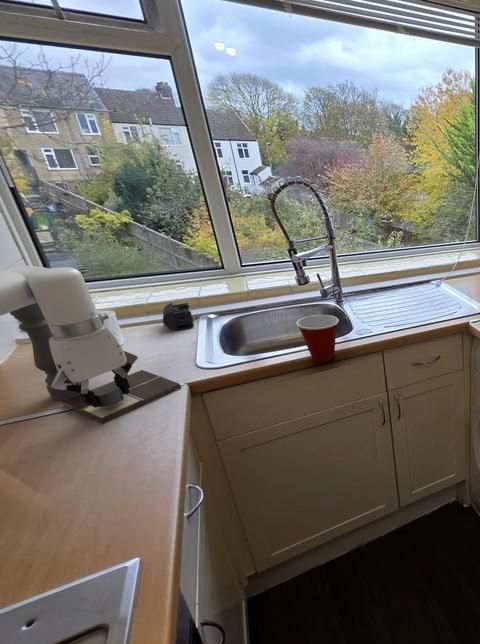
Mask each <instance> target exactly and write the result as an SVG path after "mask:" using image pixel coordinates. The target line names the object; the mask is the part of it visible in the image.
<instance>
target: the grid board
mask: <svg viewBox="0 0 480 644" xmlns="http://www.w3.org/2000/svg"><path fill="white" fill-rule="evenodd" d="M126 378H127V380H128V383H129V385H130V388H128V389H129V391H130V393H129V394H125V398H124V399H123V400H122V401H120V402H118V403H116V404H113V405H110V406H105V407H96V408H95V407H93V406H90V405H86V404H85V403H84V401H83V399H82V397H81V395H78V396H75V397H72V398H70V399H67V400H62V401H61V402H62V404H63V407H66V408H68V409H70V410H73V411H74V412H76V413H78V414H80V415H83V416H85V417H87V418H89V419H91V420H93V421H95V422H98V423H100V424H102V425H103V424H106V423H108V422H111V421H112V420H114V419H117V418H119V417H120V416H124V415H125V414H128V413H130V412H132V411H134V410H136V409H138V408H141V407H143V406H144V405H147V404H149V403H151V402H153V401H156V400H158V399H160V398H162V397H164V396H167V395H169V394H171V393H173V392H175V391H177V390H180V389H181V388H182V385H181V383H179V382H176V381H174V380H172V379H168V378H166V377H163V376H161V375H157V374H154V373H152V372H149V371H146V370H143V369H142V370H138V371H135V372H133V373H130V374H128V376H127V377H126ZM108 384H116V383H115V381H114V380H112V381H111V382H110V381H109V382H108V383H104V384H103V385H101V386H104V385H108ZM101 386H99V387H101ZM96 388H97V387H96ZM96 388H93V389H90V390H91V391H93V390H94V389H96Z"/></svg>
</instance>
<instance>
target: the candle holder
mask: <svg viewBox="0 0 480 644" xmlns="http://www.w3.org/2000/svg"><path fill="white" fill-rule="evenodd" d="M9 314H10V316H11V317H12V316H13V318H14V319H16V320H18V322H20V324H19V325H18V329H20V330H21V331H24V332H26V334H27V336H28V338H29V340H30V342H31V345H32V354H33V362H34V366H35V368H37V369H38V370H39V371H42V372H44V374H45V375H46V378H45V380H44V382H45V384H46V389H47V391H48V393H49V395H50V397H51V400H52V401H56V402H62V401H65V400H67V399H70V398H72V397H75V396H78V395H80V393H78V392H73V391H69V390H58V389H54V388H52V387H51V384H52V382H53V381H54V379H55V377H56V375H57V373H58V371H57V368H56V365H55V363H54V360H53V357H52V353H51V350H50V345H49V338H51V337H54V336H53V334H52V332H51V330H50V328H49V326H48V324H47V322H46V320H45V317H44V315H43V313H42V311H41V309H40V307H39V305H38V303H34V304H31V305H28V306H25V307H23V308H20V309H17V310H15V311H12V312H10V313H9ZM64 383H65V384H73V385H74V382H71V381H70V380H69V378H68V379H66V380H65V382H64Z"/></svg>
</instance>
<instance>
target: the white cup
mask: <svg viewBox="0 0 480 644" xmlns="http://www.w3.org/2000/svg"><path fill="white" fill-rule="evenodd" d="M97 312H98V313H99V314H104V313H106V314H107V315H108V316H109V319H105V320H104V321H103V323H104V324H105V325H107V326H108V327H109V329H110V330H111V331H112V333H113V334H114V336H115V337H116V339H117V340H118V342H119V344H120V345H121V346H122V345H123V344H124V343H125V340H124V338H123V335H122V334H123V333H122V330H121V326H120V324H119V321H118V317H117V314H116V312H115V310H108V309H107V310H105V309H104V310H97Z"/></svg>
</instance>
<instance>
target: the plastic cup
mask: <svg viewBox="0 0 480 644" xmlns="http://www.w3.org/2000/svg"><path fill="white" fill-rule="evenodd" d="M339 322H340V319H339V318H338V317H337V316H334V315H330V314H329V315H328V314H314V315H308V316H304V317H302V318H299V319H298V320H297V321H296V327H298V328H299V330H300V332H301V335H302V337H303V339H304V342H305V345H306V347H307V350H308V352H309V354H310V356H311V358H312V360H313V362H315V363H326V362H329V361H331V360H333V359H334V358H335V354H336V352H335V351H336V338H337V337H336V335H337V333H336V332H337V327H338V323H339Z"/></svg>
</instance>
